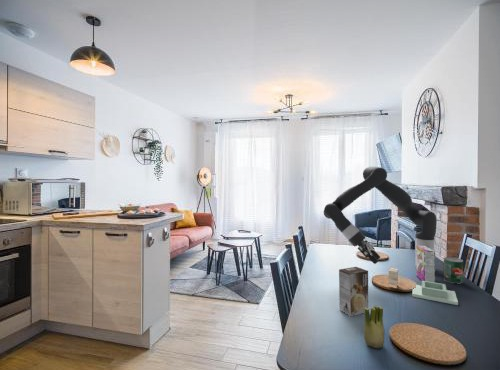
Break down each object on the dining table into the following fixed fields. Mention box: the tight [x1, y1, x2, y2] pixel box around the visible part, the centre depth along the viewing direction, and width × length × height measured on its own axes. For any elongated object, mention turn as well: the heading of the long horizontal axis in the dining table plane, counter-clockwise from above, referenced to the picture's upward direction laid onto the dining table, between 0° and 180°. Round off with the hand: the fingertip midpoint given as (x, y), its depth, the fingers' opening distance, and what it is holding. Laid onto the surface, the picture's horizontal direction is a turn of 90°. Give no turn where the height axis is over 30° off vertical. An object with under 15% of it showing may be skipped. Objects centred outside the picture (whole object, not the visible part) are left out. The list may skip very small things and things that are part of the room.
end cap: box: [411, 280, 459, 306], centre depth 121 cm, size 13×16×4 cm
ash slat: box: [388, 267, 399, 286], centre depth 131 cm, size 4×4×8 cm
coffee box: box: [338, 266, 369, 317], centre depth 106 cm, size 9×6×16 cm
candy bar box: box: [415, 246, 436, 283], centre depth 139 cm, size 11×5×16 cm, turn 168°
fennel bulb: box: [363, 305, 385, 349], centre depth 84 cm, size 6×5×12 cm
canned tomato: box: [443, 256, 464, 285], centre depth 138 cm, size 8×8×11 cm
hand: (377, 260), depth 134 cm, fingers open, 8 cm apart
